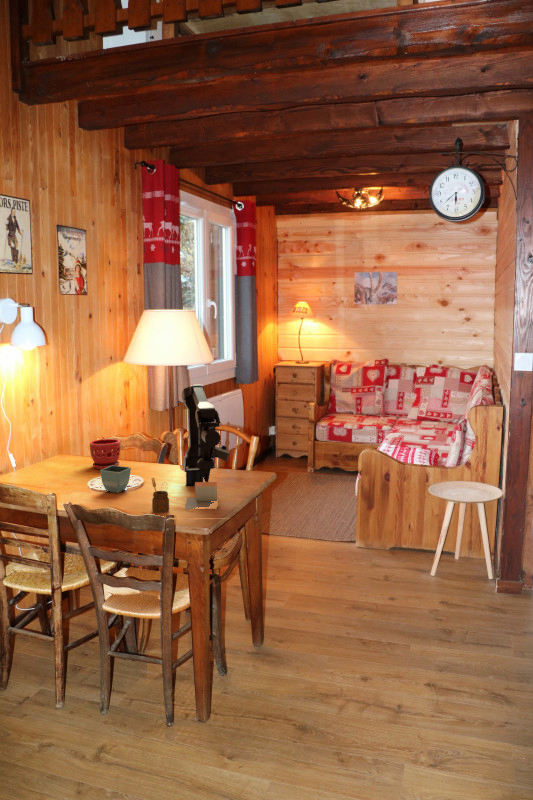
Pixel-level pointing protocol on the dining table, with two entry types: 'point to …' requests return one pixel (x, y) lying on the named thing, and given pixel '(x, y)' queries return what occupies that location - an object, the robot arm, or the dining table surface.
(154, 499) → the utensil holder
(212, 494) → the block
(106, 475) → the flower pot
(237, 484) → the dining table surface
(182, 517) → the dining table surface
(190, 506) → the slate mat
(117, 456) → the plant pot
